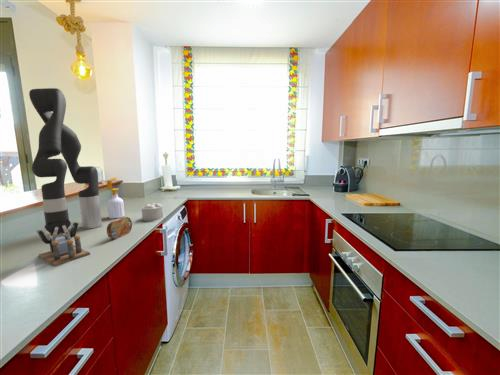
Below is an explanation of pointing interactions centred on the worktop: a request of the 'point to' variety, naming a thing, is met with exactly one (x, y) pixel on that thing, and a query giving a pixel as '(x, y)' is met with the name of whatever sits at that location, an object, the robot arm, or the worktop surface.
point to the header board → (72, 254)
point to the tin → (119, 227)
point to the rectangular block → (62, 245)
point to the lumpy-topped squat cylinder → (152, 211)
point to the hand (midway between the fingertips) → (61, 249)
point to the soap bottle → (115, 203)
